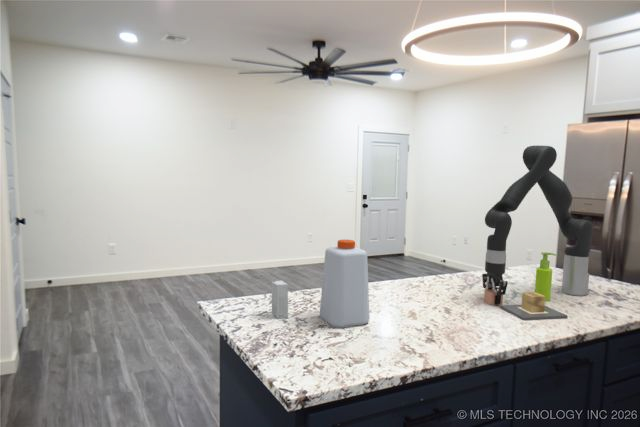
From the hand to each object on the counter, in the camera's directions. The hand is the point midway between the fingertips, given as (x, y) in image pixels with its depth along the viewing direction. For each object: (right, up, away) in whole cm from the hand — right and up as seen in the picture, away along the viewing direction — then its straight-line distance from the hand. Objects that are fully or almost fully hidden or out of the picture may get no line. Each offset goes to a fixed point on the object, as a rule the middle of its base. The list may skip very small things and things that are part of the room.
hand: (493, 301), depth 167 cm
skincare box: (-85, -1, -20) cm, 87 cm away
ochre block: (+10, -1, -11) cm, 15 cm away
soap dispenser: (+24, -1, +7) cm, 25 cm away
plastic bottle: (-62, -1, -23) cm, 66 cm away
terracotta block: (0, 0, 0) cm, 0 cm away
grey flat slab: (+10, -2, -11) cm, 15 cm away
